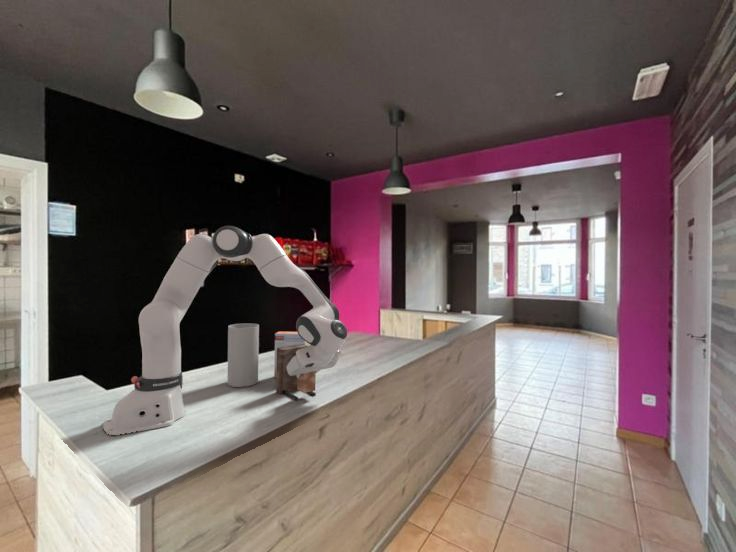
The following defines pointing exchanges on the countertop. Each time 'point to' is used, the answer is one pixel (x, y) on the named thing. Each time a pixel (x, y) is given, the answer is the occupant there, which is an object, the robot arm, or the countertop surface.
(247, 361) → the cylinder vase
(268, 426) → the countertop surface
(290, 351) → the cubby
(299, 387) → the block
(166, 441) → the countertop surface
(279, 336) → the cracker box
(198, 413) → the countertop surface
